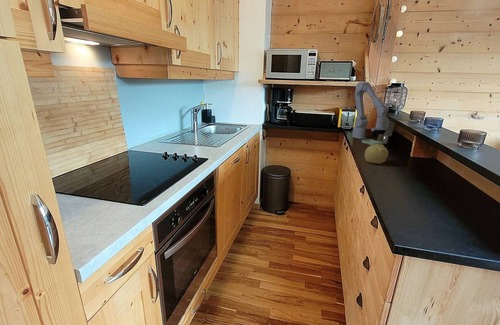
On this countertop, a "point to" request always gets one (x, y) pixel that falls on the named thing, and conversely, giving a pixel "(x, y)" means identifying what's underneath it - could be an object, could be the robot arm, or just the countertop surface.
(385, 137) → the metal peg
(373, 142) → the parts tray
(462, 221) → the countertop surface
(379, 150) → the pale yellow round ball
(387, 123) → the skincare box
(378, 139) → the oak block
